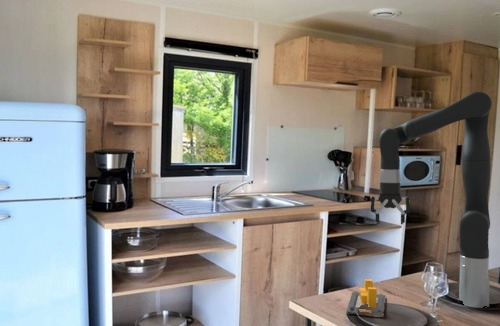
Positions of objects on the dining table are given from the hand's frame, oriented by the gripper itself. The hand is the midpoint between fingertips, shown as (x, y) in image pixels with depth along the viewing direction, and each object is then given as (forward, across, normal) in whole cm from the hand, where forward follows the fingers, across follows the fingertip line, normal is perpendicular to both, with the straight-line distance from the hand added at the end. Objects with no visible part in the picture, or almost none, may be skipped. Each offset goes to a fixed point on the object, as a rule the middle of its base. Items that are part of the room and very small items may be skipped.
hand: (389, 223), depth 178 cm
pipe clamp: (+26, +8, +17) cm, 32 cm away
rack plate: (+27, +8, +17) cm, 33 cm away
